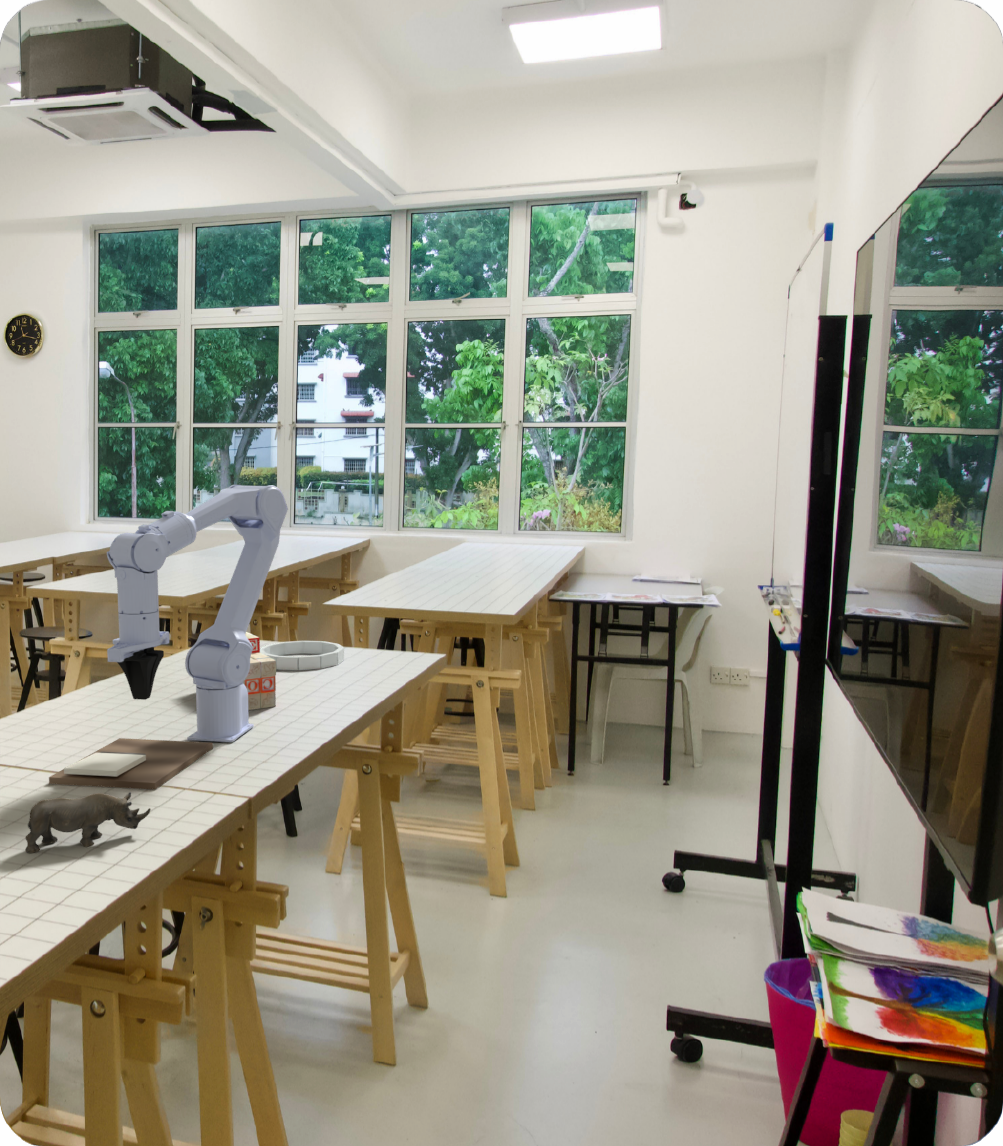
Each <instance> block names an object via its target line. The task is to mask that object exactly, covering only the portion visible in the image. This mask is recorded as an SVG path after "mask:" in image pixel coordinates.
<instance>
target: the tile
mask: <svg viewBox="0 0 1003 1146" xmlns="http://www.w3.org/2000/svg"><path fill="white" fill-rule="evenodd" d="M93 753H94V752H93ZM91 754H92V753H91ZM89 755H90V754H89ZM87 756H88V755H87ZM87 756H85V757H86V758H85V757H83V758H84V759H83V758H81V759H82V760H81V759H80V761H79V760H78V762H77V761H76V762H74V763H72V764H70V765H68V766H66V767H64V768H63V769H64V774H79V775H98V776H119V775H120V774H122V773H124V772H126V771H127V770H129V769H131V768H133V767H135V766H136V765H138V764H140V763H142V762H144V761H145V760H146V755H134V754H114V753H94V754H92V755H90V756H88V757H87Z"/></svg>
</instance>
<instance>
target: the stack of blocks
mask: <svg viewBox="0 0 1003 1146" xmlns="http://www.w3.org/2000/svg"><path fill="white" fill-rule="evenodd" d="M245 635H246V637H247V638H248V640H249V641H250V643H251V644H252V646H253V650H252V653H251V657H250V669H249V673H248V675H247V677H246V678H245V680H244V681H243V684H244V685H245V686H246V688H247V691H248V711H252V710H261V709H267V708H273V707H276V705H277V704H276V700H277V698H276V691H277V689H276V687H277V686H276V684H277V682H276V681H277V680H276V676H277V669H276V660H274V659H272V658H270V657H269V656H267V655H265V654H263V653H260V648H261V644H260V640H261V639H260V636H257V635H254V634H253V633H250V632H248V631H246V634H245Z"/></svg>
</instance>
